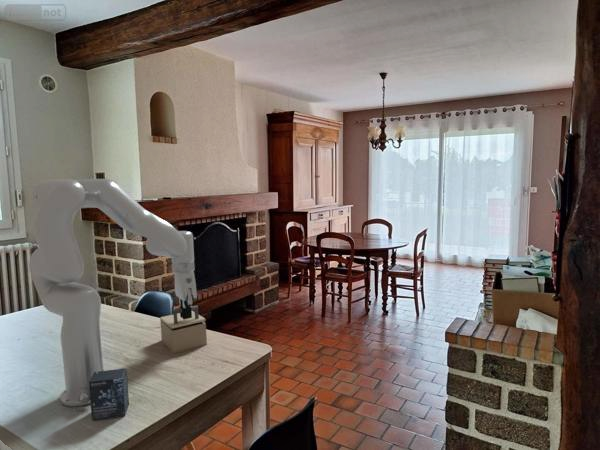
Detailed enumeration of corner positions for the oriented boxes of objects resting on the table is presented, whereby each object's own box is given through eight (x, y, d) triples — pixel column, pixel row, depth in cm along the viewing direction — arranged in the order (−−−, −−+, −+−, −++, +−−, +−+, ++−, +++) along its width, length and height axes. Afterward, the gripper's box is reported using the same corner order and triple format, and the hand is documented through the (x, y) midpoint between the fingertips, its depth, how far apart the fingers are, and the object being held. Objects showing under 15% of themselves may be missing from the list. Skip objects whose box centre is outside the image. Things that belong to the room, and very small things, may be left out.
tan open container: (206, 344, 144) (205, 323, 143) (173, 353, 137) (172, 331, 136) (193, 332, 156) (191, 312, 155) (161, 340, 149) (160, 319, 148)
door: (205, 320, 143) (204, 305, 143) (171, 328, 136) (170, 312, 136) (191, 312, 155) (190, 298, 154) (160, 319, 148) (159, 304, 147)
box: (91, 421, 100) (88, 381, 99) (97, 409, 105) (94, 371, 104) (125, 417, 102) (122, 377, 100) (129, 404, 107) (126, 367, 106)
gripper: (201, 269, 135) (204, 321, 137) (186, 261, 148) (189, 309, 150) (179, 272, 131) (182, 326, 133) (165, 264, 144) (168, 313, 146)
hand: (186, 317), depth 142 cm, fingers closed
